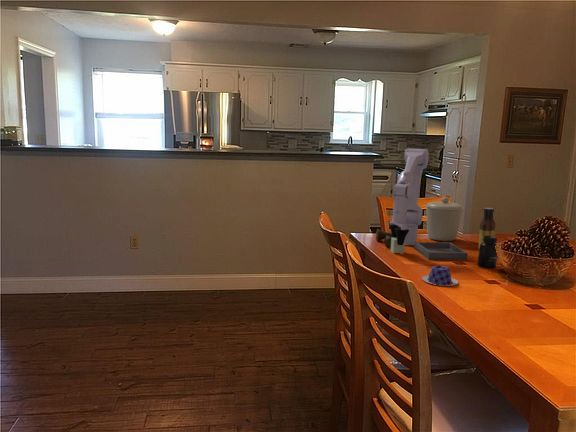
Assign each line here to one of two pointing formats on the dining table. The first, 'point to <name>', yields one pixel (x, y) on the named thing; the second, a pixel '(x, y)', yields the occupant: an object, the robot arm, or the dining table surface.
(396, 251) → the beige block
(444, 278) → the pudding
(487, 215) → the sauce bottle
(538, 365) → the dining table surface
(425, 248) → the tray
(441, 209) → the canister
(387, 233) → the kendama
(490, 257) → the supplement bottle
